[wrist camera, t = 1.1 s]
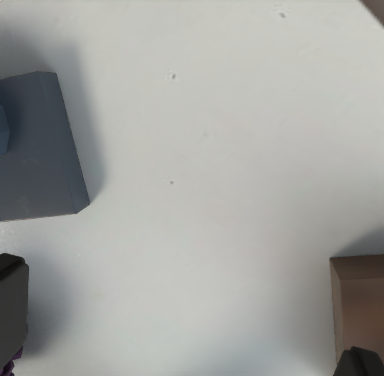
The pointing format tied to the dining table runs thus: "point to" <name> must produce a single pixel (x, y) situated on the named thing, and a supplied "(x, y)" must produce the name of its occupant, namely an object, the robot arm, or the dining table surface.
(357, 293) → the console
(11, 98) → the button box
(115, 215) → the dining table surface
